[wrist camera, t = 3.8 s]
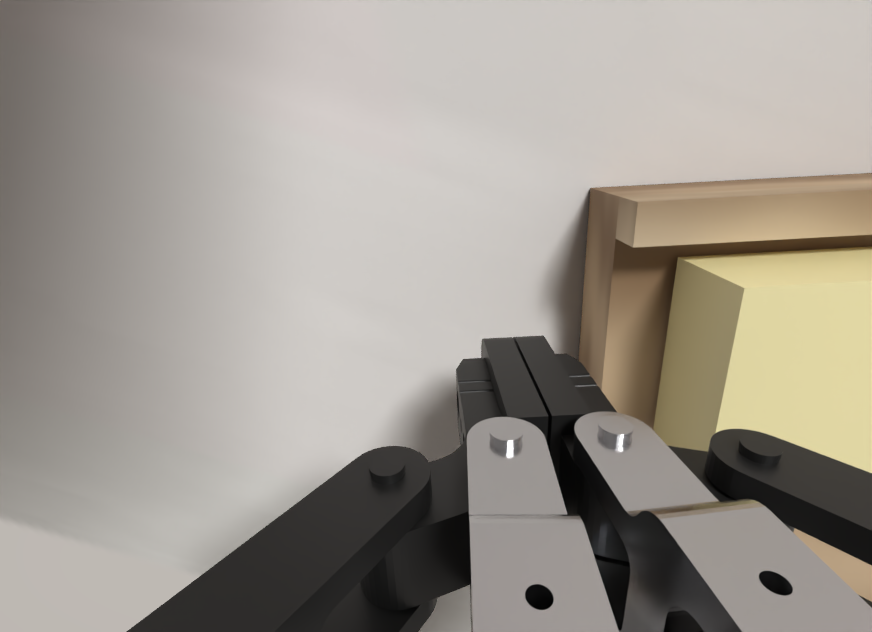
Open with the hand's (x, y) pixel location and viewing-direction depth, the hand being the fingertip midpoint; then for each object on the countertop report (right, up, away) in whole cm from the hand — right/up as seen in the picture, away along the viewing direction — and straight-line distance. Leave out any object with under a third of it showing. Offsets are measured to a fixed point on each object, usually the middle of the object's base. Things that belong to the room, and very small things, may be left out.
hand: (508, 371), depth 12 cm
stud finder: (+8, +1, +1) cm, 8 cm away
